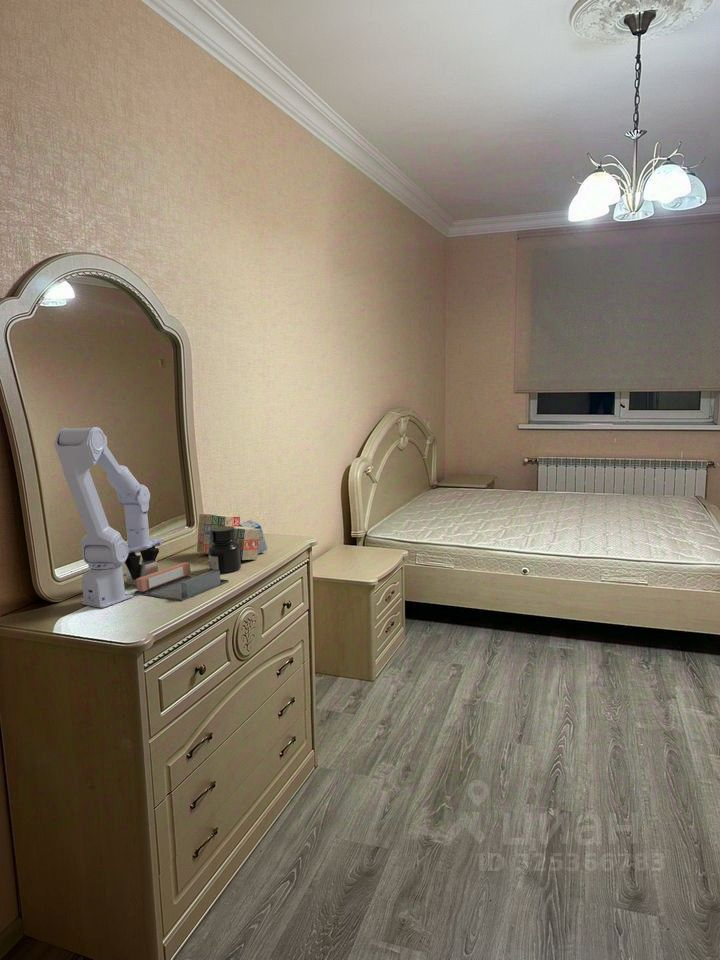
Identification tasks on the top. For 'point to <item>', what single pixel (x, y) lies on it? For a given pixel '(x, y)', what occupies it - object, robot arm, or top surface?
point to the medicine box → (261, 543)
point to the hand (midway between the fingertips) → (142, 577)
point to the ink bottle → (224, 550)
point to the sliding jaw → (163, 576)
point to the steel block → (142, 570)
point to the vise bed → (172, 589)
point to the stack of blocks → (243, 535)
